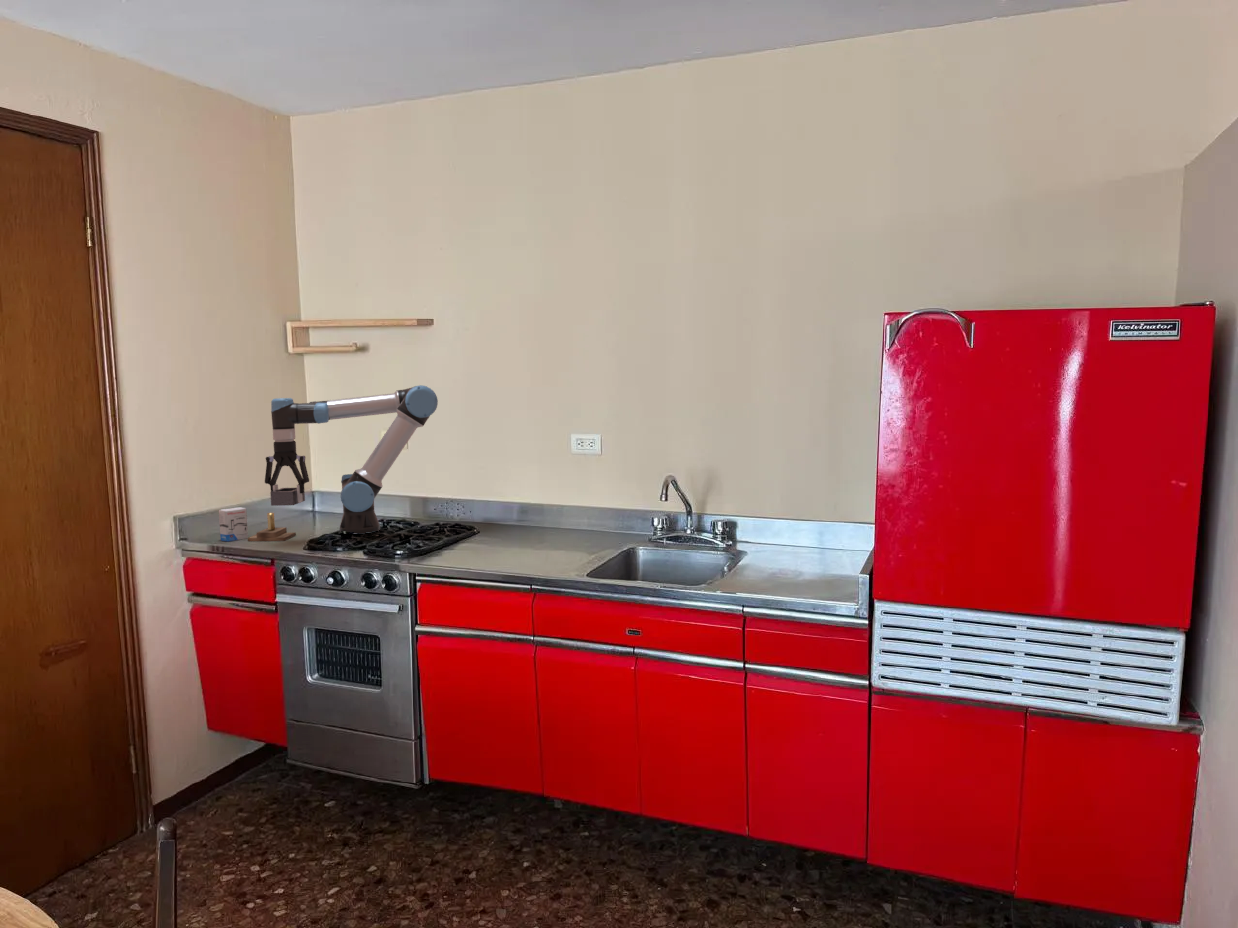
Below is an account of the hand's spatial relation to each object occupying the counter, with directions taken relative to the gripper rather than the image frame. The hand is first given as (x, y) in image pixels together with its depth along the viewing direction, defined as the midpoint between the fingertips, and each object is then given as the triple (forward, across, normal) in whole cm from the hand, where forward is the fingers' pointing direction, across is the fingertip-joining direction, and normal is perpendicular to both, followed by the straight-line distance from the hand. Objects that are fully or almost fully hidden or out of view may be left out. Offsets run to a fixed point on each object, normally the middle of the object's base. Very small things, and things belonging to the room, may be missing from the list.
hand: (288, 502), depth 299 cm
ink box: (+15, +25, -9) cm, 31 cm away
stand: (+15, +11, -10) cm, 21 cm away
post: (+12, +11, -9) cm, 19 cm away
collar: (0, 0, 0) cm, 0 cm away
